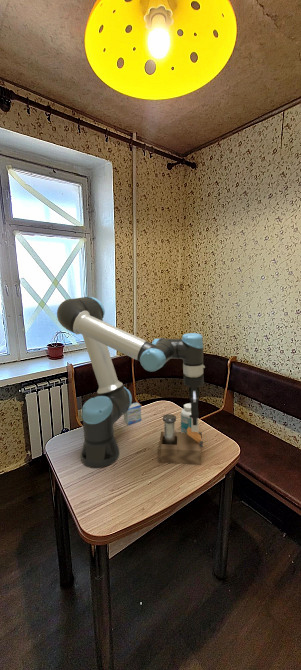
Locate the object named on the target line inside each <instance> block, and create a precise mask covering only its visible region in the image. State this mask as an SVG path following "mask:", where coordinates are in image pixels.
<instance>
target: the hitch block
mask: <svg viewBox="0 0 301 670" xmlns="http://www.w3.org/2000/svg"><path fill="white" fill-rule="evenodd" d="M197 433H198V434H200V435H201V439H202V438H203V432H199V431H198V432H197ZM203 447H204V442H203V440H201V441H200V443H199V442H197V441H196V440H194V439H193V438H192V437H190V436H189V435H188V434H187V433H183V432H181V431H180V432H178V431H177V432H176V431H175V445H169V444H165V431H162V430H161V431H160V436H159V443H158V463H163V464H177V465H179V464H181V465H193V466H194V465H195V466H197V465H198V466H201V465H202V464H201V463H202V461H201V458H202V454H201V453H202V450H201V449H202V448H203Z"/></svg>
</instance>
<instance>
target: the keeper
mask: <svg viewBox="0 0 301 670" xmlns="http://www.w3.org/2000/svg"><path fill="white" fill-rule="evenodd" d="M198 433H199V432H192V431H191V428H190V427H188V428H187V434H188V435H189V436H190V437H192V438H193V439H194V440H196V441H197V442H199V443H200V441H202V438H201V435H200V434H198Z"/></svg>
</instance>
